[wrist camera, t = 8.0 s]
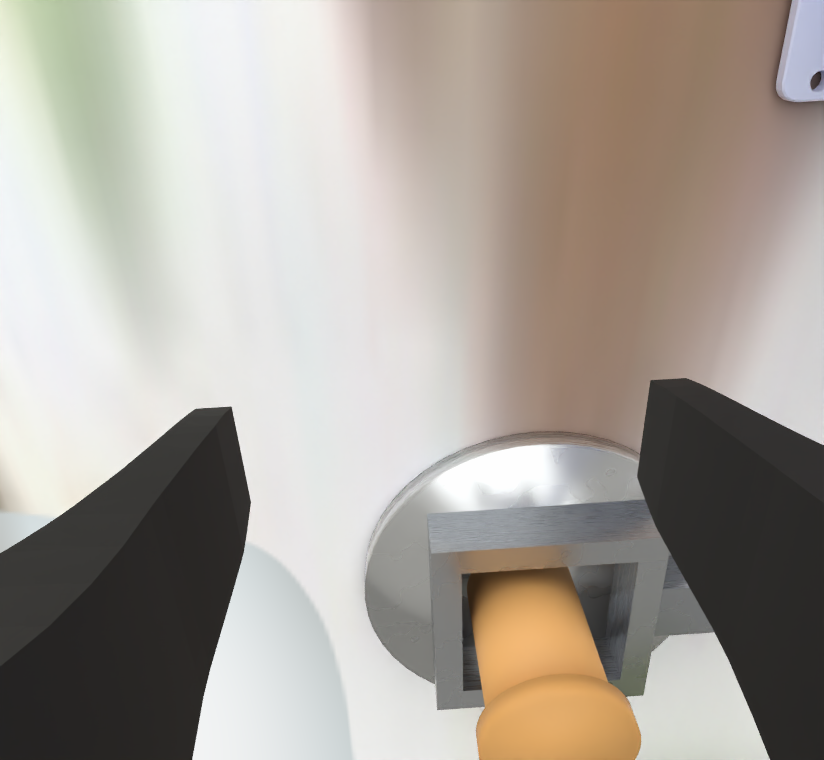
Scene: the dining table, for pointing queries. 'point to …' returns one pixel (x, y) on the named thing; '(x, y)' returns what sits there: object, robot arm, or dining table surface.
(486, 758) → the pin
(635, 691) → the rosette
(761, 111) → the dining table surface
